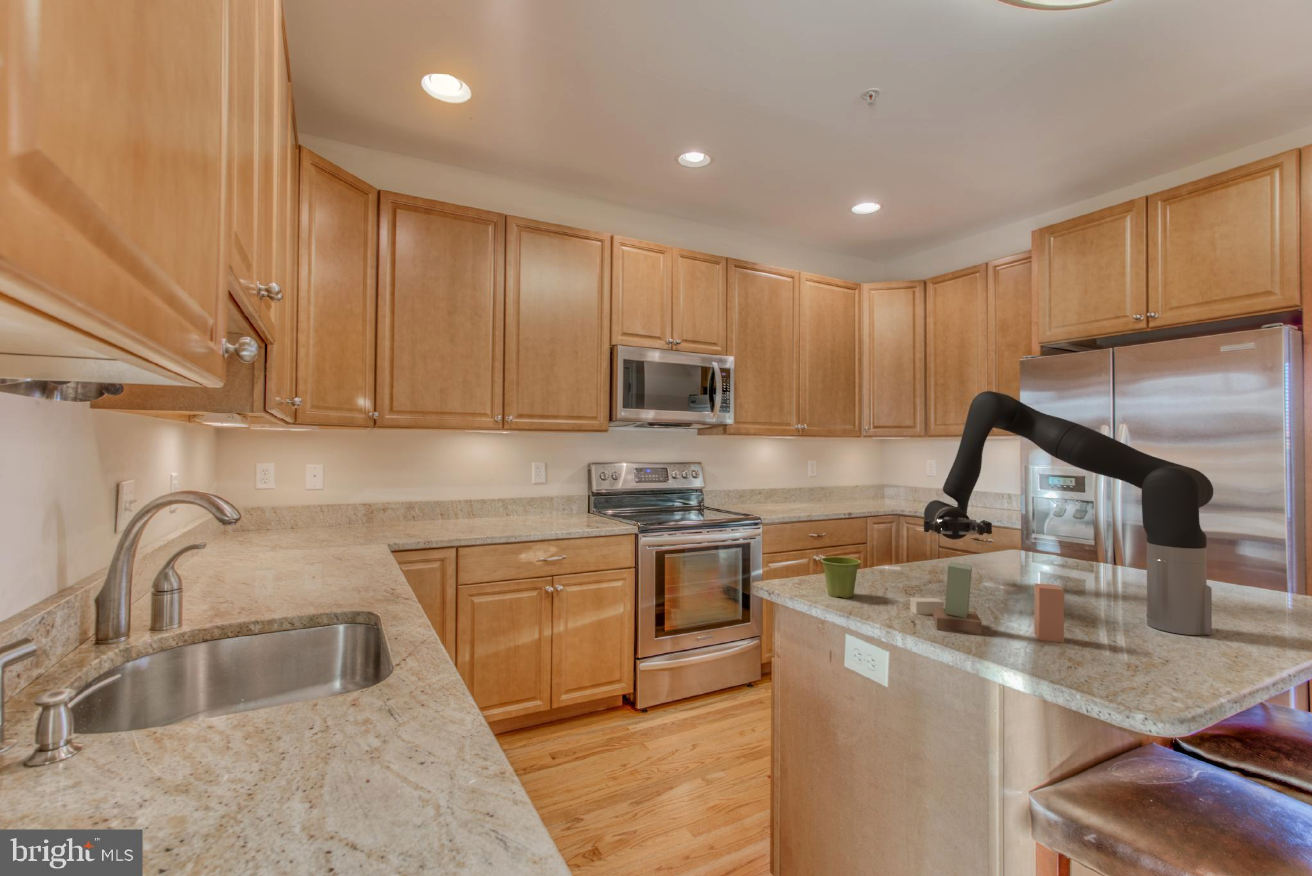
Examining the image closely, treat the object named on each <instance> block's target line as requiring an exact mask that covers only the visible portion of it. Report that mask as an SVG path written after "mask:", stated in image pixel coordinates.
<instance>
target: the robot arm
mask: <svg viewBox="0 0 1312 876" xmlns="http://www.w3.org/2000/svg"><path fill="white" fill-rule="evenodd" d="M993 429H998V430H1002V431H1006V432H1009V433H1011V434H1015V435H1017V436H1020V437H1023V438H1025V439H1027V440H1028V441H1030V442H1032V443H1033V444H1035V445H1036V446H1037V447H1039V448H1040V449H1041V450H1043V451H1044V452H1045V453H1047V454H1048V455H1050V456H1052V457H1053V458H1055V459H1057V460H1060V461H1062V462H1064V463H1067V464H1068V465H1071V466H1072V467H1073V466H1074V467H1075V468H1077V469H1081V470H1083V471H1086V472H1090V473H1093V474H1098V475H1101V476H1104V477H1108V478H1112V479H1114V480H1116V479H1117V480H1119V481H1121V482H1122V481H1123V482H1125V483H1128V484H1129V485H1132V486H1134V487H1137V488H1138V489H1140V490H1141V516H1142V526H1143V528H1144V532H1145V534H1146V625H1148V626H1149V627H1151V628H1154V629H1156V630H1159V631H1164V632H1169V633H1173V634H1174V633H1175V634H1179V635H1189V636H1204V635H1206V636H1207V635H1208V636H1212V635H1213V634H1212V632H1213V631H1212V627H1213V626H1212V622H1213V621H1212V618H1213V617H1212V615H1213V614H1212V613H1213V612H1212V597H1213V596H1212V594H1213V593H1212V587H1211V586H1210V585H1208V584H1207V545H1208V544H1207V535H1206V533H1205V532H1204V531H1203V529H1202V527H1201V524H1200V508H1202V507H1204V506H1206V505H1208V503H1210V502H1211V500H1212V499H1213V496H1214V486H1213V483H1212V481H1210V479H1209V477H1207V476H1206V475H1205V474H1204V473H1203V472H1202V471H1200V470H1197V469H1195V468H1193V467H1189V466H1185V465H1183V464H1179V463H1175V462H1172V461H1169V460H1165V459H1162V458H1159V457H1155V456H1153V455H1150V454H1147V453H1145V452H1142V451H1140V450H1138V449H1136V448H1133V447H1132V446H1130V445H1128V444H1126V443H1124V442H1121V441H1120V440H1118V439H1115V438H1113V437H1111V436H1108V435H1105V434H1103V433H1101V432H1099V431H1097V430H1094V429H1092V428H1090V427H1087V426H1084V425H1082V424H1079V423H1077V422H1074V421H1071V420H1068V419H1065V418H1062V417H1060V416H1059V417H1057V416H1054V415H1051V414H1050V415H1049V414H1047V413H1044V412H1041V411H1038V410H1037V409H1036V408H1033V407H1030V406H1029V405H1027V404H1025V403H1023V402H1022V401H1020V400H1018V399H1016V398H1015V397H1013V396H1010V395H1008V394H1005V393H1001V392H996V391H991V390H985V391H982V392H980V393H978V394H977V395H976V396H974V398H973V399H972V401H971V403H970V405H969V408H968V412H967V416H966V420H965V425H964V428H963V432H962V435H961V440H960V443H959V447H958V450H957V451H956V452H957V453H956V456H955V459H954V461H953V464H952V466H951V468H950V470H949V473H948V475H947V477H946V479H945V482H944V484H943V486H942V491H943V493H944V494H945V495H947V497H949V498H951V499H953V500H954V501H956V503H957V505H955V506H954V505H952V504H949V503H947V502H944V501H942V500H938V499H935V500H931V501H930V502H929V503H928V504H927V505H926V506H925V508H924V511H923V518H924V519H923V532H925V533H929V532H930V531H932V533H935V534H936V535H940V534H941V535H942V536H943V537H944V538H946V539H948V540H953V541H954V540H960V539H964V538H965V537H967V535H979V536H983V535H984V534H987V535H991V534H992V535H993V523H992V522H990V521H989V520H988V521H987V520H985V519H983V520H980V521H979V522H977V520H976V519H970V517H969V515H968V514H967V513H968V506H969V502H970V498H971V496H972V493H973V491H974V489H975V486H976V484H977V482H978V480H979V477H980V474H981V471H982V464H983V452H984V451H983V450H984V448H985V443H986V440H987V438H988V436H989V435H990V433H991V432H992V430H993Z"/></svg>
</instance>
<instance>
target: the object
mask: <svg viewBox="0 0 1312 876" xmlns="http://www.w3.org/2000/svg"><path fill="white" fill-rule="evenodd" d="M820 562H821V563H822V567H823V568H824V577H825V584H826V589H827V590H826V591H827V594H828V596H831V597H833V598H838V597H839V598H843V599H848V598H853V596H854V595H855V588H856V581H857V573H858V569H859V567H860V564H861V560H859V559H858V558H853V557H846V556H825V557H822V558H820Z"/></svg>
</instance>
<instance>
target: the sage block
mask: <svg viewBox="0 0 1312 876" xmlns="http://www.w3.org/2000/svg"><path fill="white" fill-rule="evenodd" d="M947 566H948V567H947V577H946V578H947V579H946V591H945V605H944V609H945V614H949V615H954V616H958V617H963V618H967V615H968V611H970V610H969V609H970V598H971V597H970V596H971V584H972V583H971V582H972V571H973V569H972V568H973V565H972V564H966V563H962V562H957V561H956V562H955V561H950V562H949V564H948V565H947Z"/></svg>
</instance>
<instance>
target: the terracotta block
mask: <svg viewBox="0 0 1312 876" xmlns="http://www.w3.org/2000/svg"><path fill="white" fill-rule="evenodd" d="M1033 589H1034V596H1033V597H1034V605H1033V606H1034V610H1033V611H1034V615H1033V616H1034V618H1033V619H1034V623H1033V624H1034V627H1033V628H1034V629H1033V631H1034V635H1035V637H1037V639H1038V640H1039V641H1047V642H1055V643H1065V626H1064V625H1065V605H1064V604H1065V589H1063V588H1062V587H1061V586H1060V585H1059V584H1046V583H1034V588H1033Z"/></svg>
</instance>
